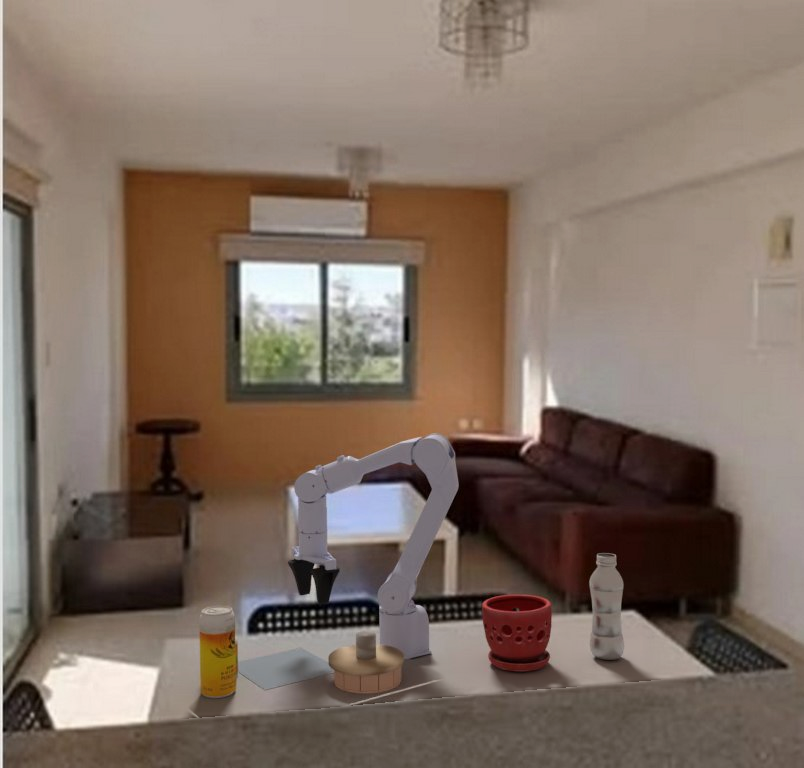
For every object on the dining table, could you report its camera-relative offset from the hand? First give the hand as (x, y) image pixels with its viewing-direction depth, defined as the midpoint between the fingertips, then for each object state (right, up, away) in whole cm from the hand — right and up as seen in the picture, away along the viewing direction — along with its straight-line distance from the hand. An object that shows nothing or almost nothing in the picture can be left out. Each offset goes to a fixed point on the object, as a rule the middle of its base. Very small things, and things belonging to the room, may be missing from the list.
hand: (313, 598), depth 181 cm
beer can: (-15, -12, -22) cm, 29 cm away
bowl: (+11, -11, -17) cm, 24 cm away
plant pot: (+39, -11, -8) cm, 42 cm away
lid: (+11, -7, -17) cm, 22 cm away
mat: (-5, -11, -10) cm, 16 cm away
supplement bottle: (-15, -11, -14) cm, 24 cm away
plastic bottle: (+57, -10, -6) cm, 58 cm away
